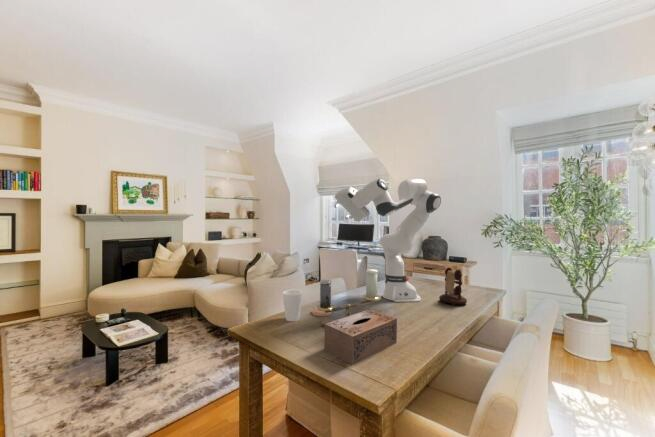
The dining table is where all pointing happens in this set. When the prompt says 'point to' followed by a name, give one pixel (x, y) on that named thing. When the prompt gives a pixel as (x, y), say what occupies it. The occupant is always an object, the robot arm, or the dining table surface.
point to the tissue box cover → (360, 335)
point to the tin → (325, 294)
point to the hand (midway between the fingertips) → (340, 212)
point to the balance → (345, 308)
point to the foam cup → (292, 304)
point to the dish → (320, 313)
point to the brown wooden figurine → (453, 292)
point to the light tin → (371, 283)
